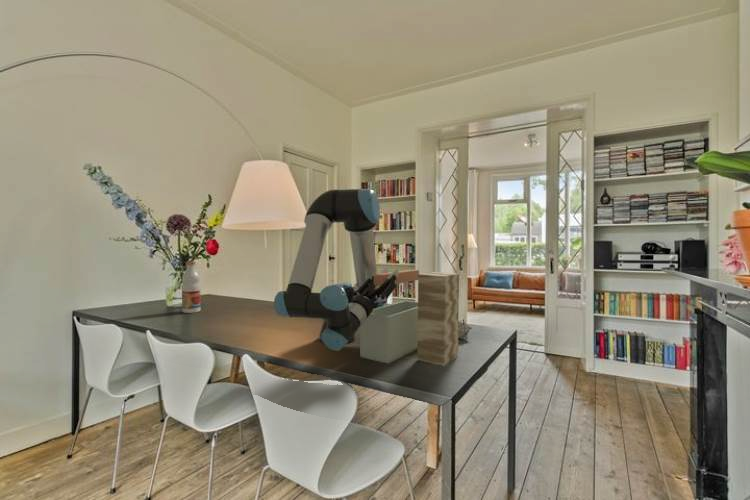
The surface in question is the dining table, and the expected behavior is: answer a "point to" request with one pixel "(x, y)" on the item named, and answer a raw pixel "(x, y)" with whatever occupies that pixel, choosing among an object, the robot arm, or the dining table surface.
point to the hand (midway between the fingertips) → (391, 271)
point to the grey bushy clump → (463, 329)
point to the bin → (390, 332)
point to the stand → (438, 317)
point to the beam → (401, 278)
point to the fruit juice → (191, 289)
